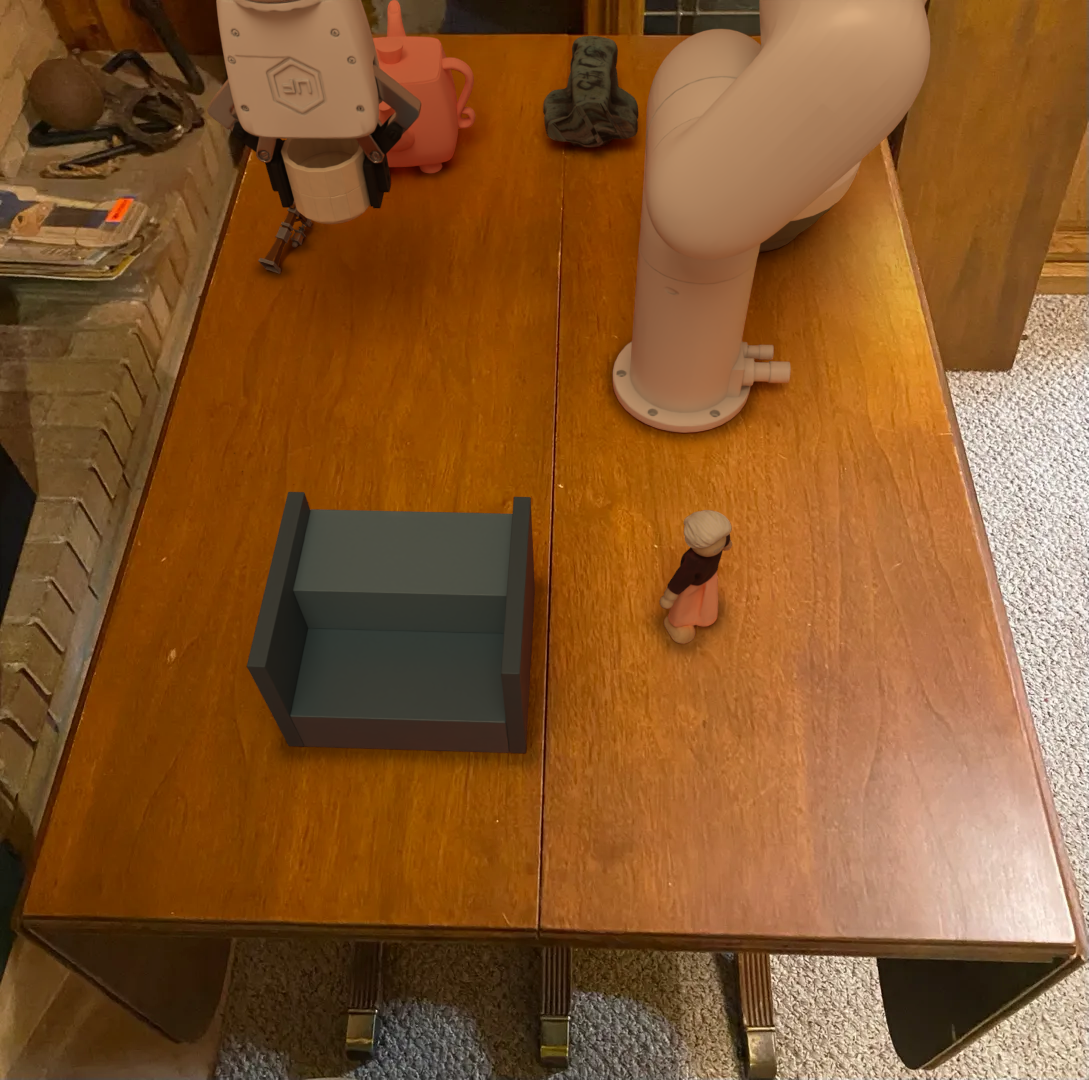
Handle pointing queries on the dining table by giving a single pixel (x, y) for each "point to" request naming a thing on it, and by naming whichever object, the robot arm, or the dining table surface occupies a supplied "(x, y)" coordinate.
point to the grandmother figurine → (696, 576)
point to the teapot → (424, 95)
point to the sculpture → (591, 98)
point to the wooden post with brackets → (285, 238)
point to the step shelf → (398, 629)
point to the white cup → (326, 178)
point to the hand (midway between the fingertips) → (334, 195)
